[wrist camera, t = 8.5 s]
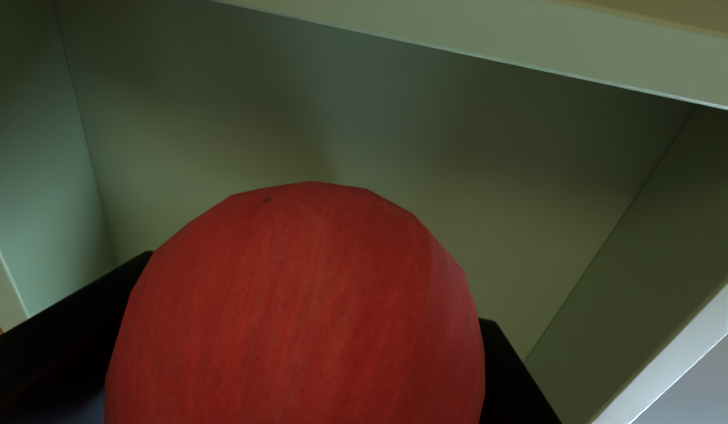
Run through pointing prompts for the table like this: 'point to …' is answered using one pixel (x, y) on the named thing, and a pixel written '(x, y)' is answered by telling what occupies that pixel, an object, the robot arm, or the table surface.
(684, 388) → the table surface
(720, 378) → the table surface
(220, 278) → the onion
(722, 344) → the table surface
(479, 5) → the green bin
